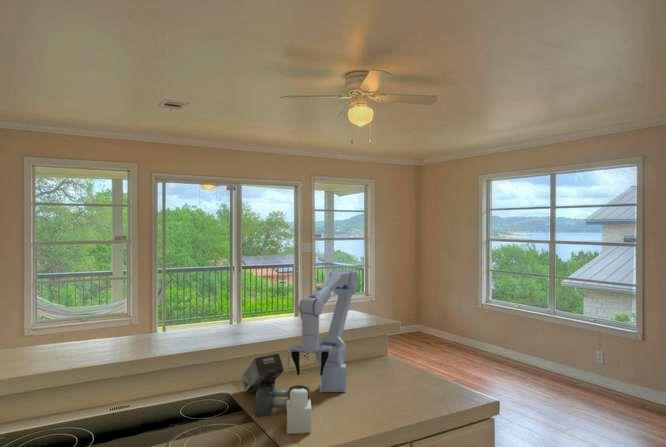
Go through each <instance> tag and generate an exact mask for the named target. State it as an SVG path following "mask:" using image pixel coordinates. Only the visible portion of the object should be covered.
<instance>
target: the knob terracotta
mask: <svg viewBox="0 0 666 447" xmlns="http://www.w3.org/2000/svg"><path fill="white" fill-rule="evenodd" d="M287 400H289V395H288V397H287V398H276V399H272V406H274V407H275V406H279V407H280V406H283V407H284V406H286V407H287Z"/></svg>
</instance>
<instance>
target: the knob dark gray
mask: <svg viewBox="0 0 666 447" xmlns="http://www.w3.org/2000/svg"><path fill="white" fill-rule="evenodd" d="M291 387H292V386H291ZM291 387H289V389H290V388H291ZM289 389H288V390H276V391H274V397H276V398H288V395H289Z"/></svg>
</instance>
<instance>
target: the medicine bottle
mask: <svg viewBox="0 0 666 447" xmlns="http://www.w3.org/2000/svg"><path fill="white" fill-rule="evenodd" d="M289 388H290V387H289ZM288 391H289V400H287V406H286V411H285V412H286V414H285V416H286V418H285V419H286V422H285V423H286V428H285V429H286V432H285V433H286V435H293V434H295V435H296V434H300V435H301V434H311V433H312V402H311V398H310V389H309V387H308V386H306V385H299V384H298V385H297V384H296V385H292V386H291V388H290V389H288Z"/></svg>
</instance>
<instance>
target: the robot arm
mask: <svg viewBox="0 0 666 447" xmlns="http://www.w3.org/2000/svg"><path fill="white" fill-rule="evenodd" d="M358 282H359V274H358V272H357V270H355V269H341V268H332V269H331V270H330V272H329V277H328V279H327V280H326V282H325V283H324V284H323V285H318V286H317V287H316V288H315V289H314V290H313V291H312V292H311V293H310V294H309V295H308V296H305V297H303V298H301V300H300V301H299V306H298V312H299V314H300V316H299V317H300V320H301V344H300V345H289V346H288V349H287V353H288V354H291V355H290V356H291V359H292V361H293V363H294V366H295V369H296V375H297V376H300V374H301V373H300V368H301V367H300V353H301V354H303V353H304V354H305V353H306V354H307V353H310V354H311V353H313V354H315V358H316V360H317V361H318V364H319V365H320V369H319V370H320V373H319V375H320V382H319V383H318V384H319V386H318V387H319V392H320V393H346V392H347V385H348V384H347V383H348V380H347V364H346V363H344V362H345V360H346V356H347V353H346V351H347V344H346V342H345V341H344V340H343V339H342V337H343V331H344V328H345V324H346V320H347V316H348V313H349V310H350V304H351V301H352V296H353V295H355V294H356V290H357V288H358V285H359V283H358ZM332 292H334V293H336V294H337V299H336V303H335V306H334V310H333V314H332V317H331V322H330V326H329V329H328V333H327V334H326V336H324V337H321V339H320V315H322V312H323V309H324V307H325V304H326V303H327V302H328V301H329V300H330V298H331V296H332V295H331V293H332Z"/></svg>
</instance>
